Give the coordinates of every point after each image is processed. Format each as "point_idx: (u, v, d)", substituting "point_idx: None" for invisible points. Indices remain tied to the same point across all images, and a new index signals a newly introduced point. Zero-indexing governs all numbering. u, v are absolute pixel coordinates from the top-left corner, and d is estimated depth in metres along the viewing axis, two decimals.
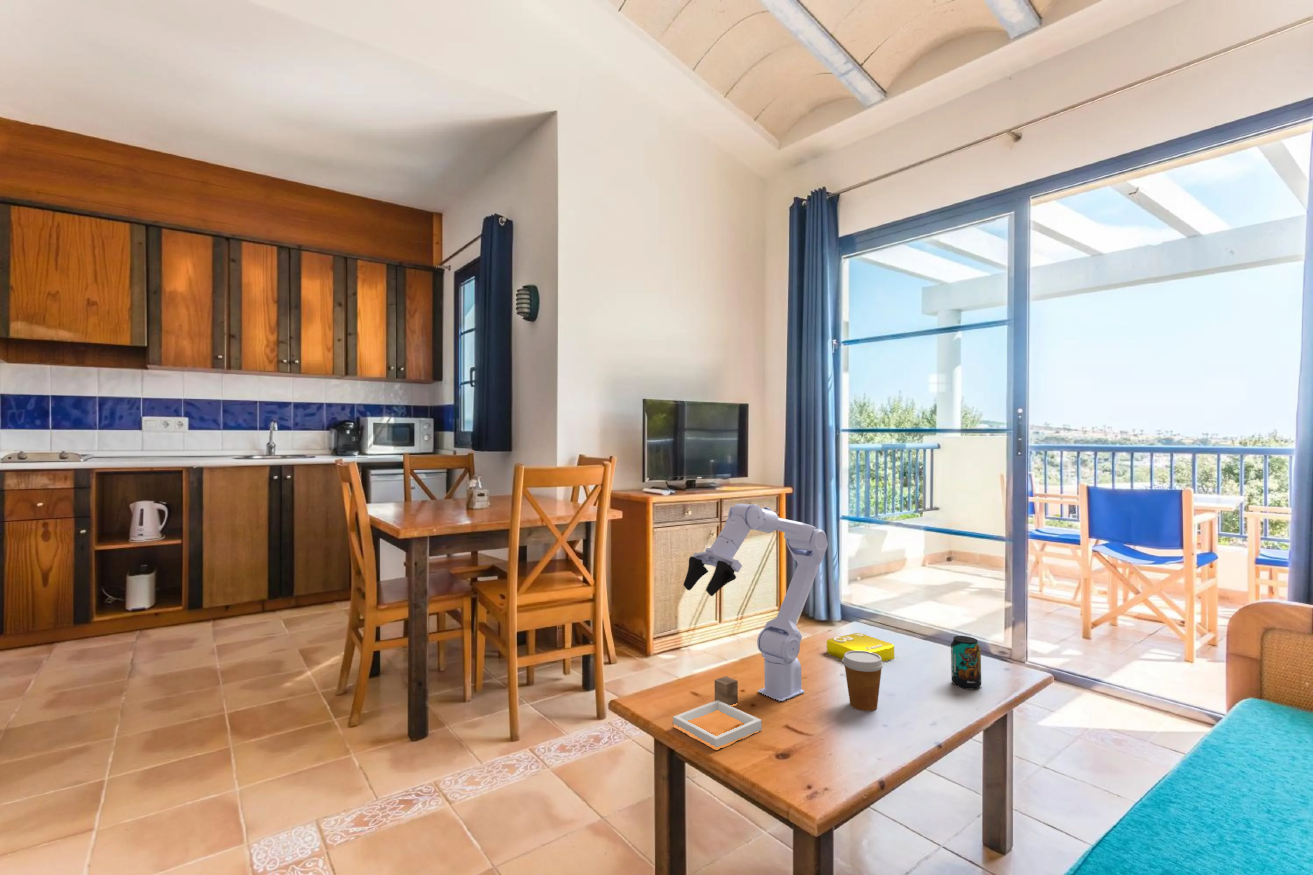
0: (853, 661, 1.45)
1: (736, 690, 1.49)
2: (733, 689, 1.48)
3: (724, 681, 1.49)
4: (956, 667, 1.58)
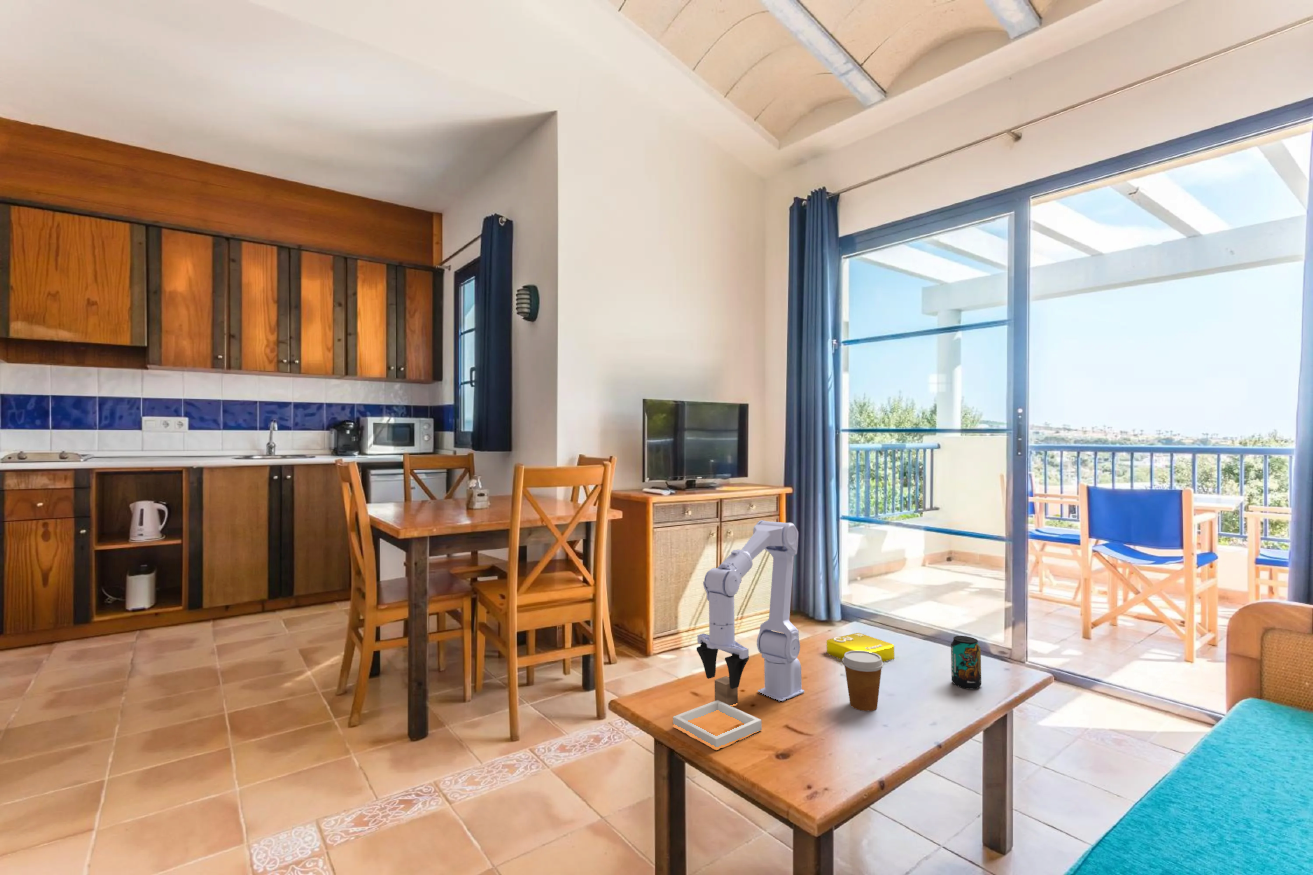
0: (853, 661, 1.45)
1: (736, 690, 1.49)
2: (733, 689, 1.48)
3: (724, 681, 1.49)
4: (956, 667, 1.58)
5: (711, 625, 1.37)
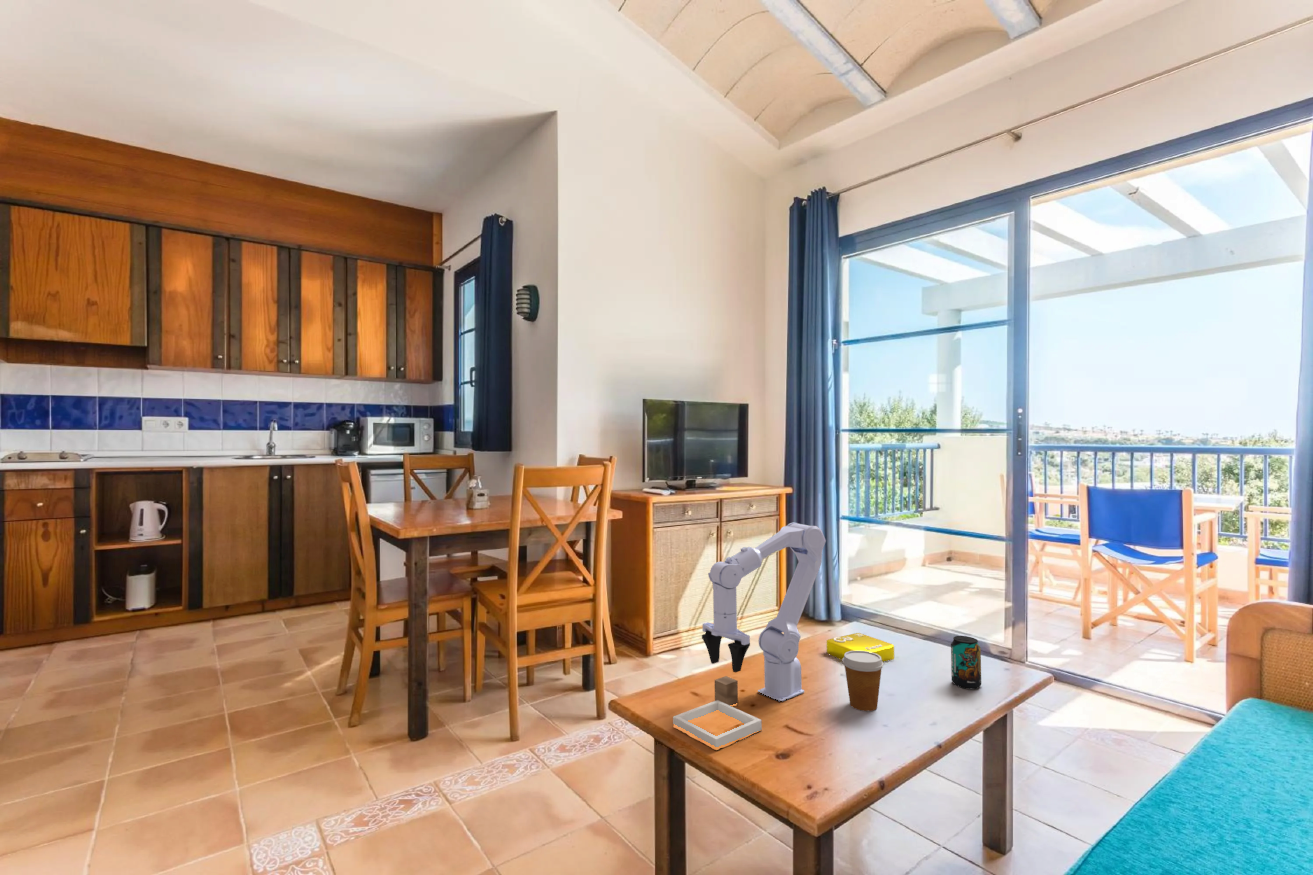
0: (853, 661, 1.45)
1: (736, 690, 1.49)
2: (733, 689, 1.48)
3: (724, 681, 1.49)
4: (956, 667, 1.58)
5: (715, 614, 1.48)
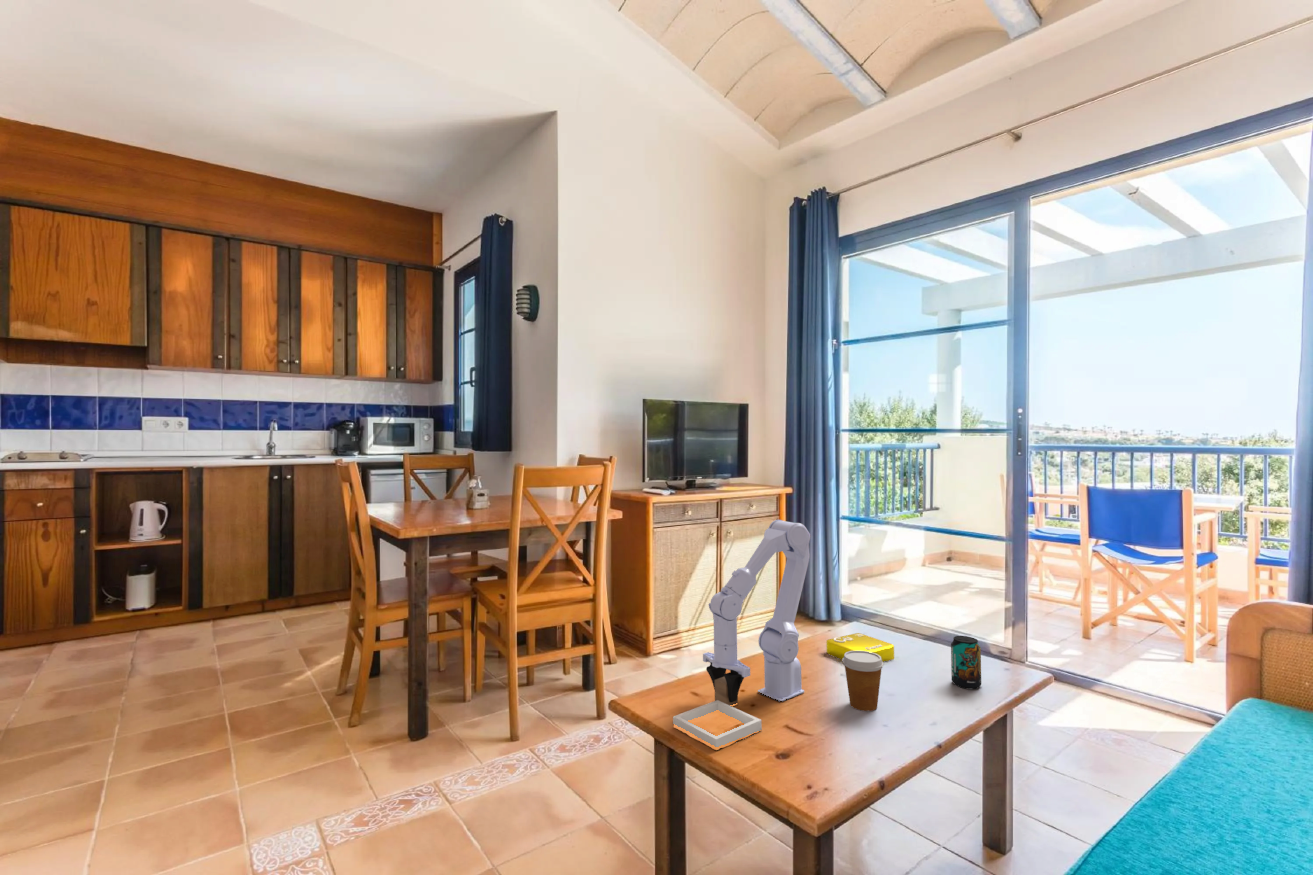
0: (853, 661, 1.45)
1: None
2: None
3: (724, 681, 1.49)
4: (956, 667, 1.58)
5: (716, 645, 1.48)
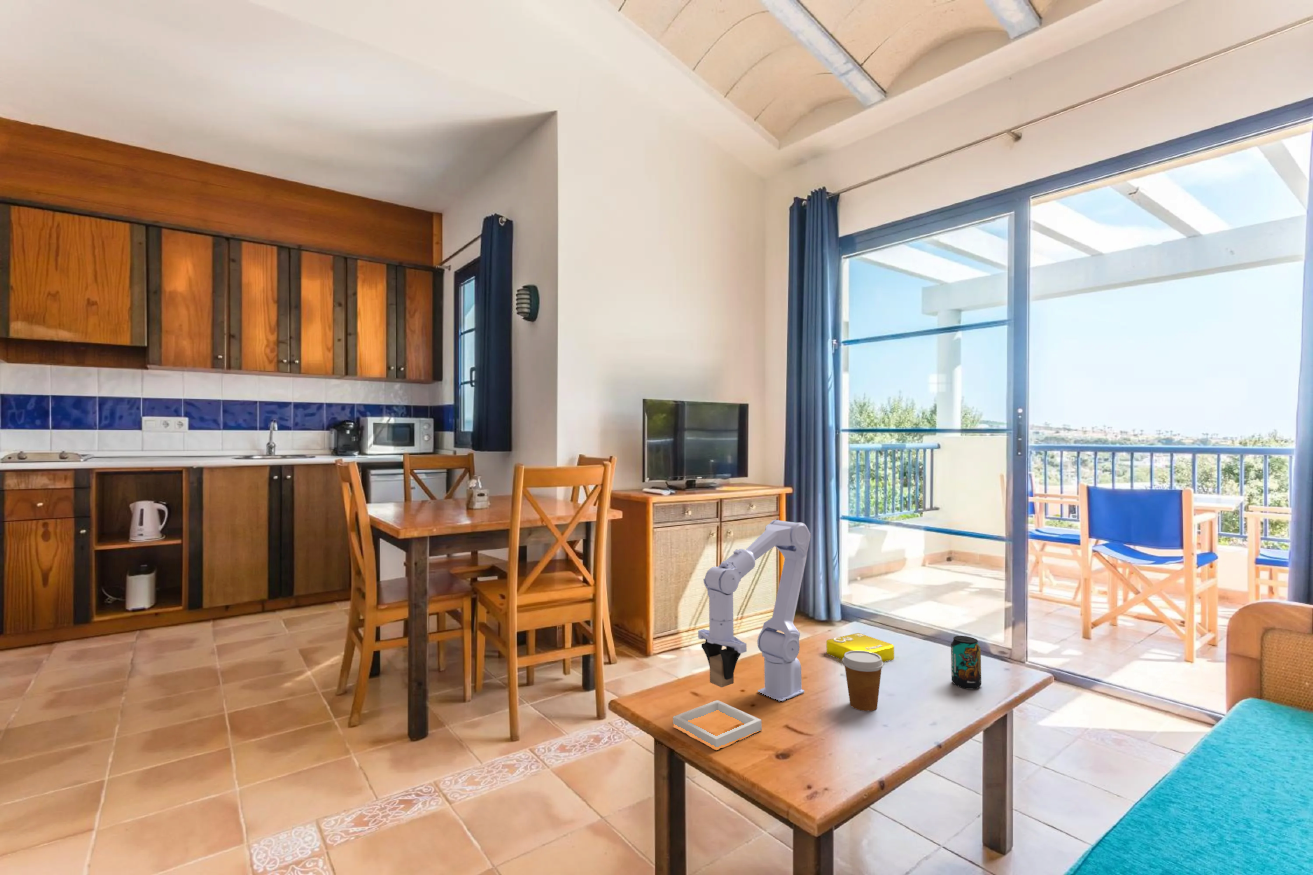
0: (853, 661, 1.45)
1: None
2: None
3: (720, 658, 1.44)
4: (956, 667, 1.58)
5: (711, 621, 1.43)
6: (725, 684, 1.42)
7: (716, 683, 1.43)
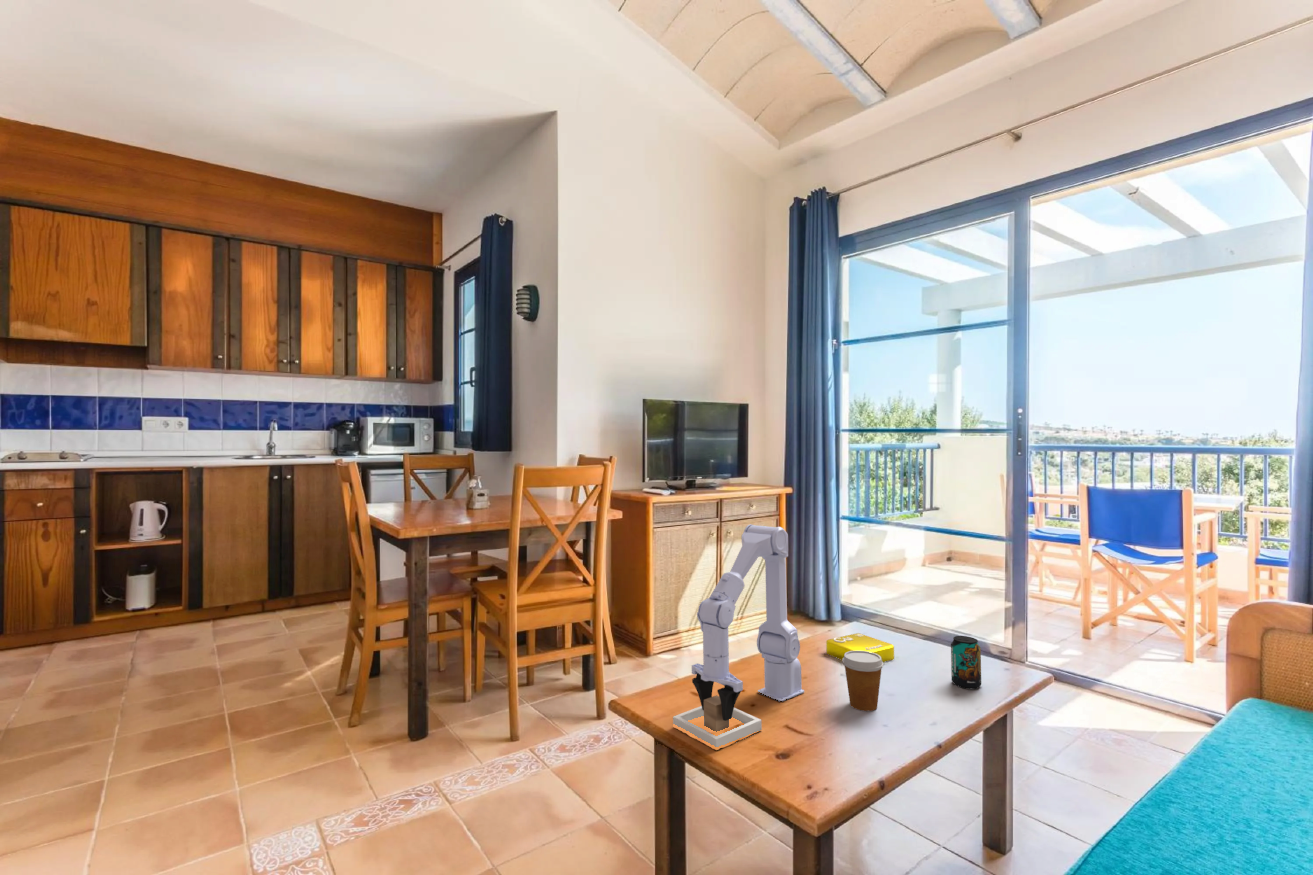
0: (853, 661, 1.45)
1: None
2: None
3: (714, 701, 1.35)
4: (956, 667, 1.58)
5: (705, 657, 1.35)
6: (720, 729, 1.34)
7: (710, 728, 1.35)
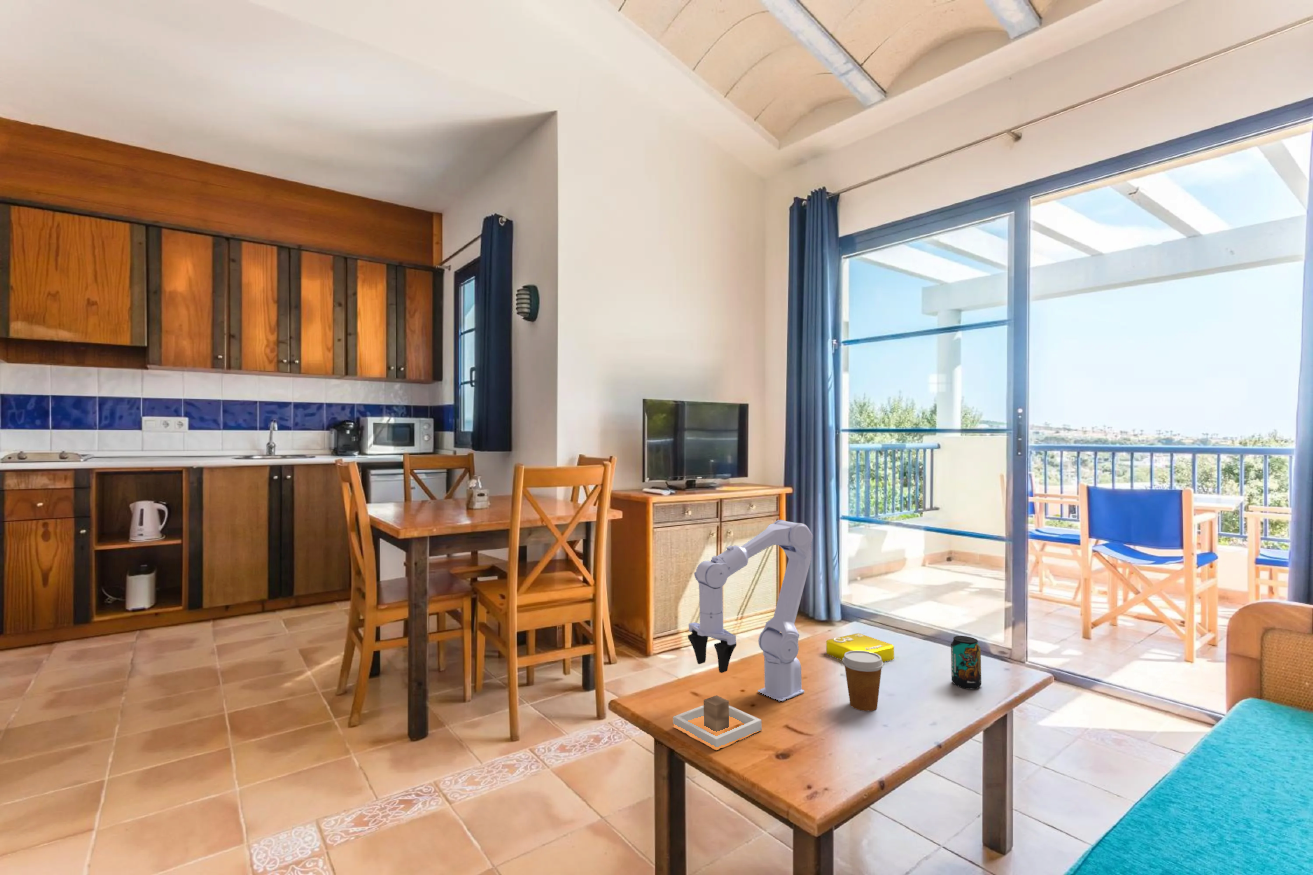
0: (853, 661, 1.45)
1: (727, 711, 1.36)
2: (724, 710, 1.35)
3: (714, 701, 1.35)
4: (956, 667, 1.58)
5: (701, 614, 1.47)
6: (720, 729, 1.34)
7: (710, 728, 1.35)
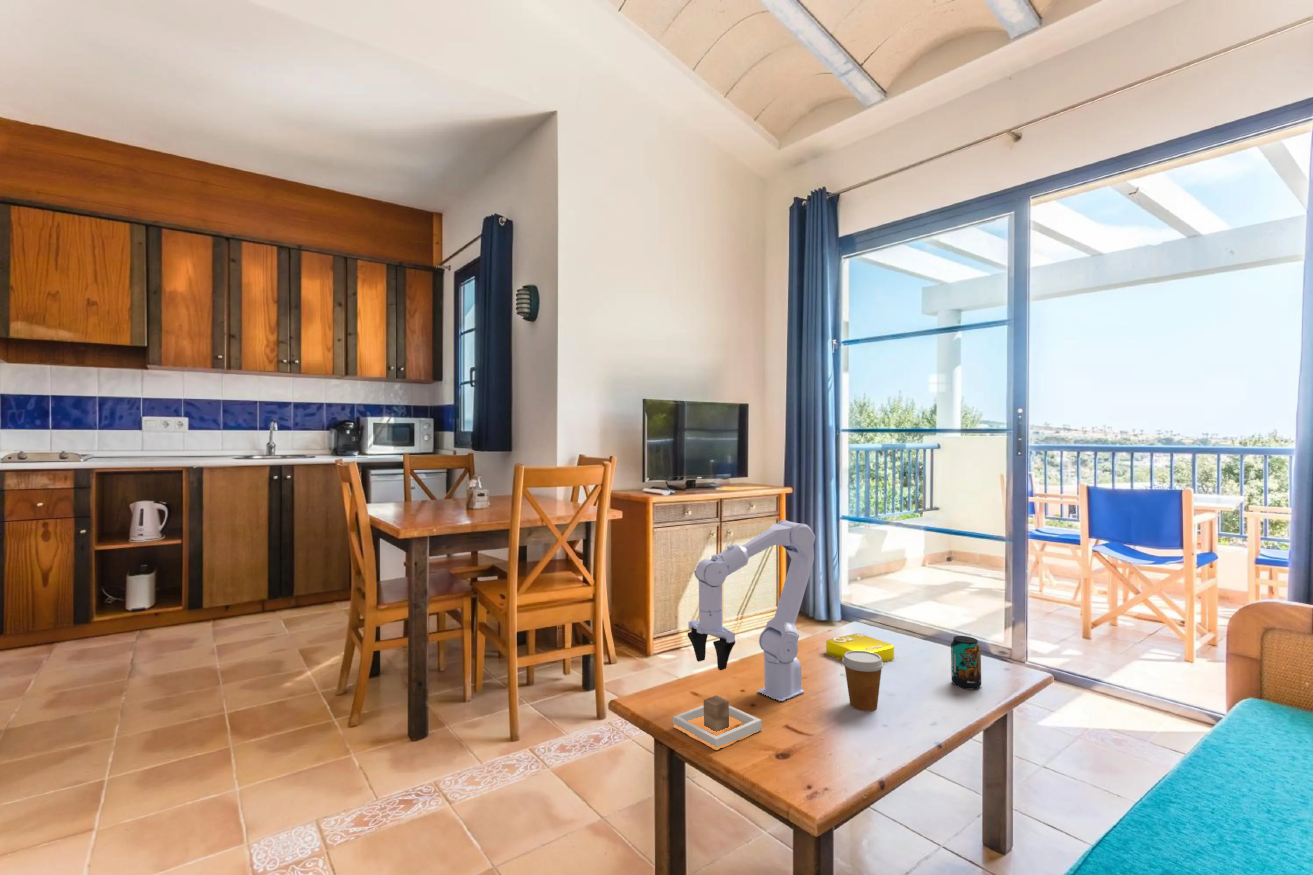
0: (853, 661, 1.45)
1: (727, 711, 1.36)
2: (724, 710, 1.35)
3: (714, 701, 1.35)
4: (956, 667, 1.58)
5: (701, 612, 1.48)
6: (720, 729, 1.34)
7: (710, 728, 1.35)
